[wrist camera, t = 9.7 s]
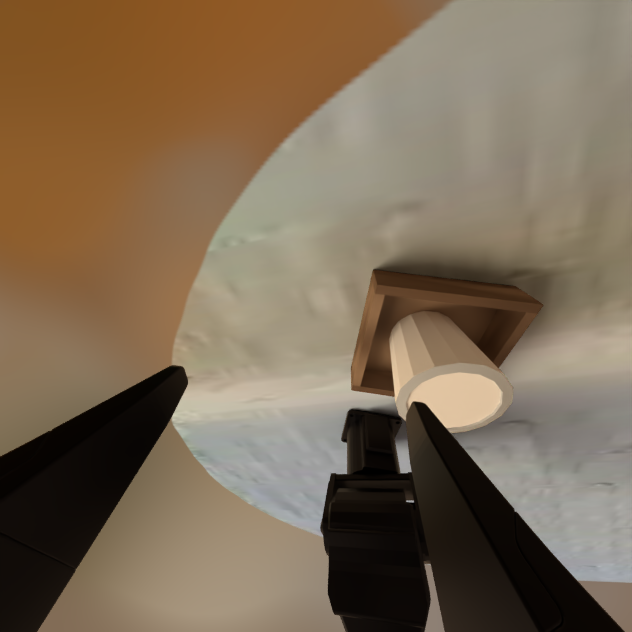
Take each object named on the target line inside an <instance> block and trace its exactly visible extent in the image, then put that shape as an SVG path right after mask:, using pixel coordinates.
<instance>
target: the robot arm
mask: <svg viewBox="0 0 632 632" xmlns="http://www.w3.org/2000/svg"><path fill="white" fill-rule="evenodd" d="M187 385H188V379H187V376H186V373H185V370H184V368H183V367H182V366H176V365H172V366H169V367H167V368H166V369H164V370H162V371H160V372H158V373H156V374H154V375H152V376H151V377H149V378H147V379H145V380H143V381H141V382H140V383H138V384H136V385H134V386H132V387H130V388H128V389H127V390H125V391H123V392H121V393H119V394H117V395H115V396H113V397H112V398H110V399H108V400H106V401H104V402H102V403H100V404H98V405H97V406H95V407H93V408H91V409H89V410H87V411H86V412H84V413H82V414H80V415H78V416H76V417H74V418H73V419H70V420H69V421H67V422H65V423H63V424H61V425H60V426H57V427H56V428H54V429H52V431H48V432H46V433H45V434H42V435H41V436H39V437H37V438H35V439H33V440H31V441H29V442H27V443H25V444H24V445H22V446H20V447H18V448H16V449H14V450H12V451H10V452H8V453H6V454H4V455H2V456H0V632H37V631H38V629H39V628H40V626H41V625H42V623H43V622H44V620H45V619H46V617H47V615H48V614H49V612H50V610H51V609H52V607H53V606H54V604H55V603H56V601H57V599H58V597H59V596H60V595H61V593H62V592H63V590H64V588H65V587H66V585H67V583H68V582H69V580H70V579H71V577H72V576H73V574H74V573H75V571H76V568H77V567H78V566H79V564H80V563H81V561H82V559H83V558H84V556H85V555H86V553H87V552H88V550H89V548H90V547H91V545H92V544H93V542H94V540H95V539H96V537H97V536H98V534H99V532H100V531H101V529H102V528H103V526H104V525H105V523H106V521H107V520H108V518H109V517H110V515H111V513H112V512H113V510H114V509H115V507H116V505H117V504H118V502H119V501H120V499H121V497H122V496H123V494H124V493H125V491H126V489H127V488H128V486H129V485H130V483H131V482H132V480H133V478H134V476H135V475H136V474H137V472H138V470H139V469H140V467H141V466H142V464H143V463H144V461H145V459H146V458H147V456H148V455H149V453H150V452H151V450H152V448H153V447H154V445H155V444H156V442H157V440H158V439H159V437H160V436H161V434H162V432H163V431H164V429H165V428H166V426H167V424H168V422H169V421H170V419H171V417H172V415H173V413H174V411H175V409H176V407H177V405H178V403H179V401H180V399H181V397H182V395H183V393H184V391H185V389H186V387H187ZM401 424H402V420H401V418H399V417H394V416H387V415H381V414H374V413H368V412H361V411H355V410H349V411H348V413H347V417H346V421H345V425H344V429H343V433H342V437H341V440H342V441H343V442H346V443H347V474H336V473H331V476H330V481H329V483H328V489H327V495H326V501H325V506H324V512H323V518H322V522H321V527H320V528H321V532H322V534H323V538H324V546H325V551H326V553H327V555H328V556H329V574H328V576H329V577H328V596H329V599H330V603H331V606H332V610H333V612H334V614H335V615H339V616H340V617H341V620H342V623H343V625H344V628H345V631H346V632H424V631H425V626H426V621H427V617H428V611H429V607H430V600H431V599H430V591H429V585H428V580H427V575H426V570H425V565H424V564H431V567H432V572H433V577H434V581H435V586H436V591H437V596H438V601H439V606H440V610H441V615H442V620H443V625H444V630H445V632H625V631H624V630H622V628H621V627H620V626H619V625H618V624H617V623H616V622H615V621H614V620H613V619H612V618H611V616H610V615H608V613H607V612H606V611H605V610H604V609H603V608H602V607H601V606H600V605H599V604H598V603H597V601H596V600H595V599H594V598H593V597H592V596H591V595H590V594H589V593H588V592H587V591H586V590H585V589H584V588H583V587H582V585H581V584H580V583H579V582H578V581H577V580H576V579H575V578H574V577H573V576H572V574H571V573H570V572H569V571H568V570H567V569H566V568H565V567H564V566H563V565H562V564H561V562H560V561H559V560H558V559H557V558H556V557H555V556H554V555H553V554H552V553H551V551H550V550H549V549H548V548H547V547H546V546H545V544H544V543H543V542H542V541H541V540H540V539H539V537H538V536H537V535H536V534H535V533H534V532H533V531H532V529H531V528H530V527H529V526H528V525H527V524H526V522H525V521H524V520H523V519H522V518H521V516H520V515H519V514H518V513H517V512H515V511H514V508H513V507H512V506H511V505H510V503H509V502H508V501H507V500H506V499H505V497H504V496H503V495H502V494H501V493H500V492H499V490H498V489H497V488H496V487H495V486H494V484H493V483H492V482H491V481H490V480H489V478H488V477H487V476H486V475H485V474H484V473H483V471H482V470H481V469H480V468H479V467H478V465H477V464H476V463H475V462H474V461H473V459H472V458H471V457H470V456H469V455H468V453H467V452H466V451H465V450H464V449H463V448H462V446H461V445H460V444H459V443H458V442H457V440H456V439H455V438H454V437H453V436H452V434H451V433H450V432H449V431H448V430H447V428H446V427H445V426H444V425H443V424H442V423H441V421H440V420H439V419H438V418H437V417H436V415H435V414H434V413H433V412H432V411H431V409H430V408H429V407H428V406H427V405H426V404H425V403H423V402H417V401H413V402H412V403H411V405H410V408H409V410H408V412H407V414H406V427H407V437H408V447H409V457H410V464H411V470H412V472H408V473H400V467H399V461H398V456H397V450H396V444H395V436H396V434H397V432H398V430H399V428H400V426H401ZM406 500H414V503H409V502H406Z"/></svg>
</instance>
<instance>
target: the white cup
mask: <svg viewBox="0 0 632 632" xmlns="http://www.w3.org/2000/svg"><path fill="white" fill-rule="evenodd" d="M389 342H390V352H391V362H392V372H393V382H394V392H395V402H396V406H397V409H398V413H399V415H400V416H401V417H402V418H403V419H404V420H405V421H406V414H407V412H408V410H409V408H410V405H411V403H412V402H413V401H417V402H423V403H425V404H426V405H427V406H428V407H429V408H430V409H431V411H432V412H433V413H434V414H435V415H436V417H437V418H438V419H439V420H440V421H441V423H442V424H443V425H444V426H445V427H446V428H447V430H448V431H449V432H450V433H456V432H466V431H469V430H473V429H476V428H479V427H482V426H485V425H487V424H489V423H490V422H492V421H494V420H495V419H497V418H499V417H500V416H502V415H503V413H504V412H505V411H506V409H507V408H508V407H509V406H510V404H511V403H512V398H513V386H512V385H511V383H510V382H509V381H508V379H507V378H506V376H505V375H504V374H503V373H502V372H501V371H500V370H499V369H498V368H497V367H496V365H495V364H494V363H493V362H492V361H491V360H490V359H489V358H488V357H487V356H486V355H485V354H484V353H483V352H482V351H481V350H480V349H479V348H478V347H477V346H476V345H475V344H474V343H473V342H472V341H471V340H470V339H469V338H468V337H467V336H466V335H465V334H464V333H463V331H462V330H461V329H460V328H459V327H458V326H457V325H456V324H455V323H454V322H453V321H452V320H451V319H450V318H449V317H447V316H445V315H443V314H441V313H439V312H432V311H421V312H417V313H413V314H410V315H408V316H406V317H405V318H403V319H401V320H399V322H398V323H397V324H396V325H395V326H394V328H393V329H392V331H391V334H390V338H389Z"/></svg>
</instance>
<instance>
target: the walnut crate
mask: <svg viewBox="0 0 632 632" xmlns="http://www.w3.org/2000/svg"><path fill="white" fill-rule="evenodd" d="M542 307H543V304H542V303H540V302H539V301H537V300H536V299H534V298H533V297H531V296H529V295H528V294H526V293H525V292H523V291H522V290H520V289H519V288H517V287H516V286H509V285H501V284H492V283H483V282H475V281H466V280H458V279H449V278H441V277H432V276H423V275H415V274H406V273H398V272H389V271H380V270H373V272H372V277H371V281H370V286H369V290H368V295H367V299H366V303H365V308H364V312H363V317H362V321H361V326H360V330H359V335H358V339H357V344H356V348H355V352H354V357H353V361H352V366H351V390H353V391H360V392H367V393H373V394H380V395H387V396H394V397H395V392H394V382H393V372H392V362H391V352H390V342H389V338H390V334H391V331H392V329H393V328H394V326H395V325H396V324H397V323H398V322H399V320H401V319H403V318H405V317H406V316H408V315H410V314H413V313H417V312H421V311H432V312H439V313H441V314H443V315H445V316H447V317H449V318H450V319H451V320H452V321H453V322H454V323H455V324H456V325H457V326H458V327H459V328H460V329H461V330H462V331H463V333H464V334H465V335H466V336H467V337H468V338H469V339H470V340H471V341H472V342H473V343H474V344H475V345H476V346H477V347H478V348H479V349H480V350H481V351H482V352H483V353H484V354H485V355H486V356H487V357H488V358H489V359H490V360H491V361H492V362H493V363H494V364H495V365H496V367H497V368H499V367H500V365H501V364H502V363H503V361H504V360H505V358H506V357H507V356H508V354H509V353H510V351H511V350H512V349H513V347H514V346H515V344H516V343H517V342H518V340H519V339H520V337H521V336H522V335H523V333H524V332H525V330H526V329H527V328H528V326H529V325H530V323H531V322H532V321H533V319H534V318H535V316H536V315H537V314H538V312H539V311H540V309H541V308H542Z"/></svg>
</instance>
